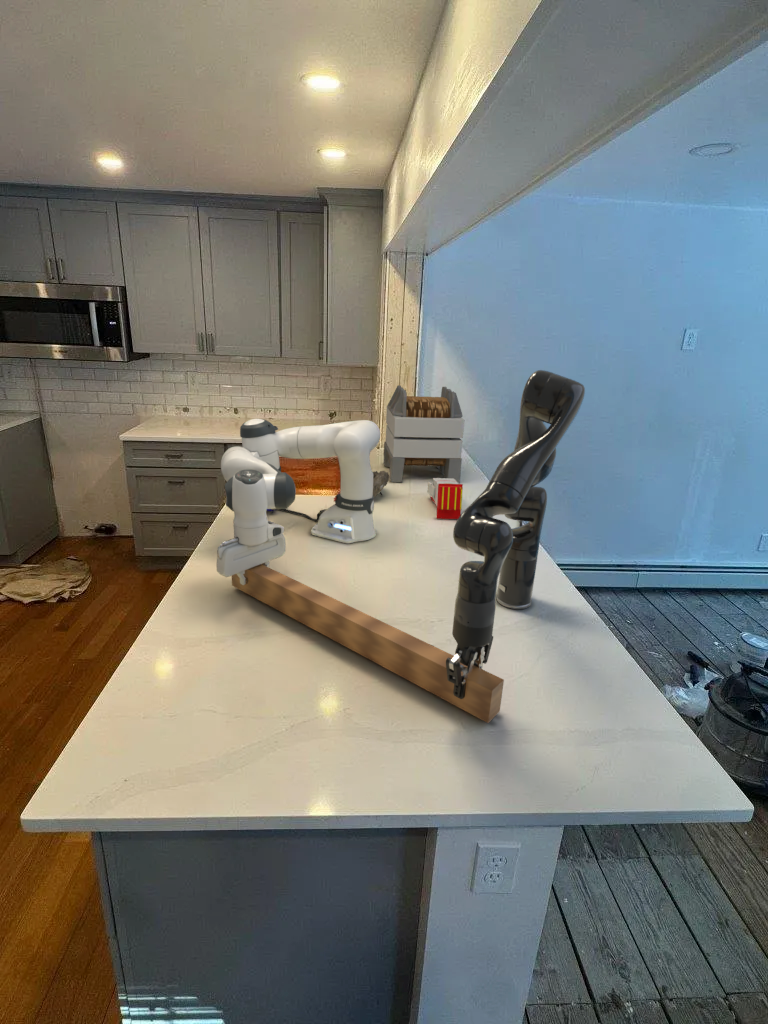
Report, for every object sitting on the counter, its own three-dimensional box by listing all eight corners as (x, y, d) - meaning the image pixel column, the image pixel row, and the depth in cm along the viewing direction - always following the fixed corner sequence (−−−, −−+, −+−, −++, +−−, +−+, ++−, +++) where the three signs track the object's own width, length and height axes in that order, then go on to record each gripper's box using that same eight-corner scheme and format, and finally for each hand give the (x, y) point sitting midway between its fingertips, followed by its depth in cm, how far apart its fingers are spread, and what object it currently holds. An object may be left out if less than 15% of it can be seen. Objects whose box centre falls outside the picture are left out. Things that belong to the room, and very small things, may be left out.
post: (231, 585, 156) (230, 560, 153) (245, 580, 159) (244, 555, 157) (488, 723, 108) (492, 690, 106) (499, 711, 112) (504, 679, 109)
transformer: (382, 463, 289) (386, 382, 275) (445, 464, 293) (451, 384, 279) (390, 482, 257) (394, 392, 243) (460, 483, 261) (468, 394, 247)
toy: (455, 474, 240) (467, 485, 211) (453, 505, 243) (464, 520, 214) (426, 473, 240) (434, 484, 211) (425, 504, 243) (432, 519, 213)
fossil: (358, 476, 249) (385, 458, 244) (371, 493, 252) (398, 475, 247) (350, 497, 229) (380, 477, 224) (365, 515, 232) (394, 496, 227)
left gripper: (224, 547, 138) (227, 597, 143) (288, 525, 153) (289, 571, 158) (209, 540, 142) (213, 589, 147) (273, 519, 157) (274, 564, 162)
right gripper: (471, 638, 99) (462, 717, 105) (510, 608, 110) (500, 681, 116) (436, 623, 104) (429, 699, 110) (476, 595, 114) (468, 666, 120)
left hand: (253, 580), depth 152 cm, fingers closed on post, 4 cm apart
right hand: (465, 690), depth 113 cm, fingers closed on post, 4 cm apart
